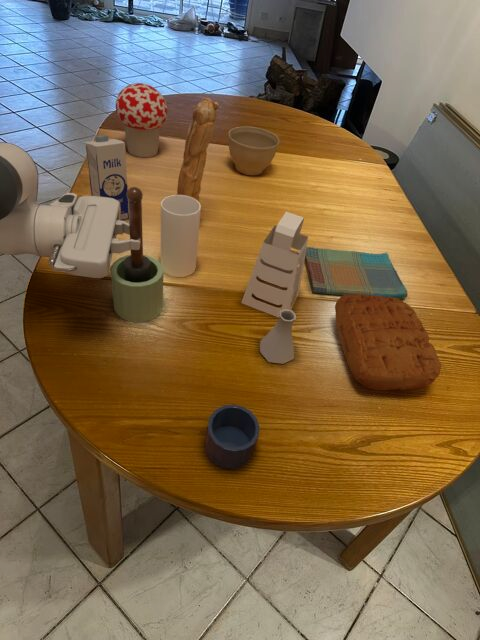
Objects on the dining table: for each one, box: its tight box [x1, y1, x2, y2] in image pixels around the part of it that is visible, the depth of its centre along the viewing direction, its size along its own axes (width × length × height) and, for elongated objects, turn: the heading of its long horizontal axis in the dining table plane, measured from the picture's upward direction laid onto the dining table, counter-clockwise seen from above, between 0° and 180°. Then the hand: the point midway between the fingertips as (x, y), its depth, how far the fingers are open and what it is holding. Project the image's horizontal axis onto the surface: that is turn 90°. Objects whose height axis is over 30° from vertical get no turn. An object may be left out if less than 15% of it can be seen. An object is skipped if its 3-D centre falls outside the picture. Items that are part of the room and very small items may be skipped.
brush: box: [124, 186, 150, 283], centre depth 75 cm, size 5×5×19 cm
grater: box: [240, 211, 309, 318], centre depth 88 cm, size 10×10×20 cm
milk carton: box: [84, 134, 129, 221], centre depth 102 cm, size 7×7×20 cm
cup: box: [159, 194, 202, 278], centre depth 92 cm, size 8×8×16 cm
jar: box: [109, 254, 165, 323], centre depth 84 cm, size 10×10×10 cm
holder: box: [204, 404, 261, 470], centre depth 65 cm, size 8×8×6 cm
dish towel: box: [304, 246, 408, 300], centre depth 104 cm, size 17×23×2 cm
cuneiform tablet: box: [334, 294, 442, 391], centre depth 84 cm, size 22×17×8 cm
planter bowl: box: [228, 126, 280, 176], centre depth 136 cm, size 16×16×11 cm
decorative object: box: [115, 82, 168, 158], centre depth 131 cm, size 16×16×20 cm
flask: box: [259, 309, 297, 365], centre depth 80 cm, size 7×7×10 cm
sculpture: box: [176, 97, 220, 204], centre depth 102 cm, size 7×9×30 cm
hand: (141, 237), depth 75 cm, fingers closed on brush, 2 cm apart
